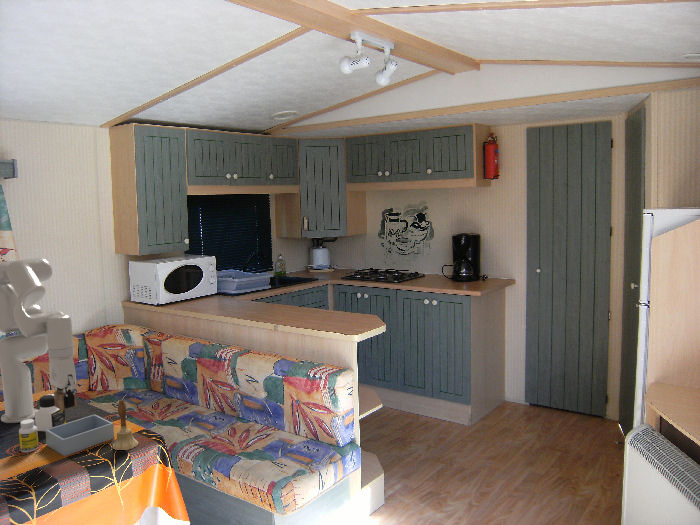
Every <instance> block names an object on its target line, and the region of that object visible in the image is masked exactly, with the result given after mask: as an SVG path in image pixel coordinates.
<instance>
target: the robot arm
mask: <svg viewBox="0 0 700 525" xmlns="http://www.w3.org/2000/svg"><path fill="white" fill-rule="evenodd" d="M52 276H53V269H52V265H51V264H50V262H49V261H48V260H47V259H45V258H44V257H43V258H41V257H39V258H38V257H37V258H29V259H28V258H27V259H19V260H18V259H17V260H7V261H0V332H1V333H3V334H8V333H9V334H10V333H15V332H20V333H19V334H15V335H10V336H6V337H3V338H1V339H0V374H1V381H2V382H1V384H2V393H3V402H4V414H2V415H1V417H0V421H1V422H2V423H5V424H16V423H21V422H22V421H23V420H27V419H35V412H36V411H38V410H39V409H37V408H36V407H35V408H34V398H33V397H34V396H33V385H32V376H31V370H30V368H29V367H28V365H27V364H25V363H24V362H23V360H26V359H31V358H35V357H39V356H43V355H45V354H47V353H48V374H49V375H48V376H49V384H50V385H51V386H53V387H54V389H55V390H54V392H57V391H60V390H64V395H65V396H64V407H65V408H67V409H70V407H71V408H73V406H74V407H76V406H75V400H74V394H75V393H74V391H76V390H77V387H76V384H77V375H76V366H75V361H74V356H75V350H74V338H73V327H72V324H73V323H72V318H71V316H70V315H68V314H65V313H64V312H63V311H61V310H53V311H46V312H45V311H43V309H42V307H41V306H40V305H38V304H37V303H38V302H40V301H41V300H43V298H44V297H45V294H46V288H45V286H44V285H43V283H42V282H46V281H49V280H50V279H51V278H52ZM68 388H70V389H69V390H68V391H67V389H68Z"/></svg>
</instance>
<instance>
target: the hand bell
mask: <svg viewBox="0 0 700 525" xmlns="http://www.w3.org/2000/svg"><path fill="white" fill-rule="evenodd" d="M117 405H118V406H117V412H118V416H119V418H120V429H118V430H117V432H116V439H115V442H114V443H113V445H112V447H111V448H113V449H115V450H126V451H129V449H130V450H133V449H135V448H136V447H138V445H139V441H138V440H137V439H135V438H134V435H133V432H132V429H131V428H129V427H127V421H126V414H127V405H126V402H124V399H119V401H118V404H117ZM134 447H135V448H134ZM113 449H112V450H113ZM115 450H114V451H115Z"/></svg>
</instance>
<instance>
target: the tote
mask: <svg viewBox="0 0 700 525" xmlns="http://www.w3.org/2000/svg"><path fill="white" fill-rule="evenodd" d="M114 428H115V425H114V422H111V421H109V420H107V419H105V418H104V417H102V416H99V415H97V414H96V413H95V414H91V415H89V416H88V415H87V416H84V417H82V418H79V419H76V420H72V421H69V422H66V424H62V425H59V426H56V427H53V428H50V429H46V430H45V431H44V432H45V439H46V443H45V444H46V446H47V447H49V448H51V449H52V450H53V451H55V452H56V453H58V454H60V455H61V456H63V457H66V456H69V455H72V454H74V453H77V452H80V451H84V450H86V449H89V448H91V447H90V446H92V447H94V446H93V445H95V446H97V445H100V444H103V443H106V442H108V440H109V441H111V439H112V440H114V439H115V429H114ZM105 441H106V442H105ZM102 442H103V443H102ZM99 443H100V444H99ZM96 444H97V445H96ZM88 447H89V448H88ZM85 448H86V449H85Z"/></svg>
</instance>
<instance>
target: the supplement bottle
mask: <svg viewBox="0 0 700 525" xmlns="http://www.w3.org/2000/svg"><path fill="white" fill-rule="evenodd" d="M18 439H19V448H20V452H22V453H31V452H34V451H36V450H38V449H39V436H38V431H37V427H36V424H35V419H34V418H32V419H27V420H23V421H22V422H20V428H19V429H18Z"/></svg>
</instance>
